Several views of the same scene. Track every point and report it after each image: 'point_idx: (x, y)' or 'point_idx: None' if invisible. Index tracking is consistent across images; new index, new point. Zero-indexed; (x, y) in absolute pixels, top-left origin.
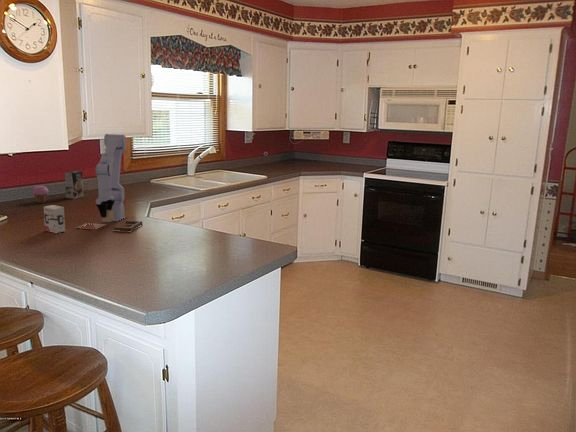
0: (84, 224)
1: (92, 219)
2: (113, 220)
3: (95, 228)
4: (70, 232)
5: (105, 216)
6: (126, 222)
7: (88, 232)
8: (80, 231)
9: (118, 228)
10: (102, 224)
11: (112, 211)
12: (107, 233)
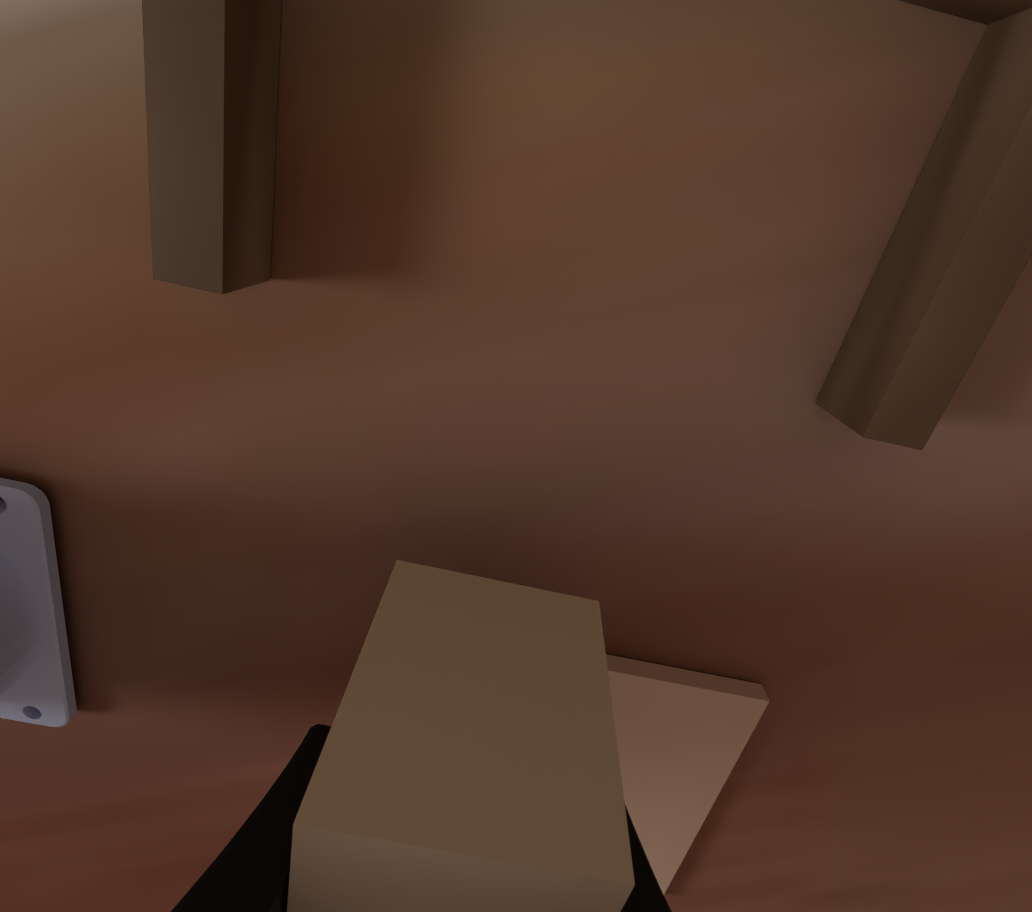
0: None
1: (63, 839)
2: (50, 581)
3: (711, 717)
4: (830, 904)
5: None
6: (240, 258)
7: (873, 746)
8: (791, 832)
9: (977, 307)
10: None
11: (381, 789)
12: (1025, 479)
